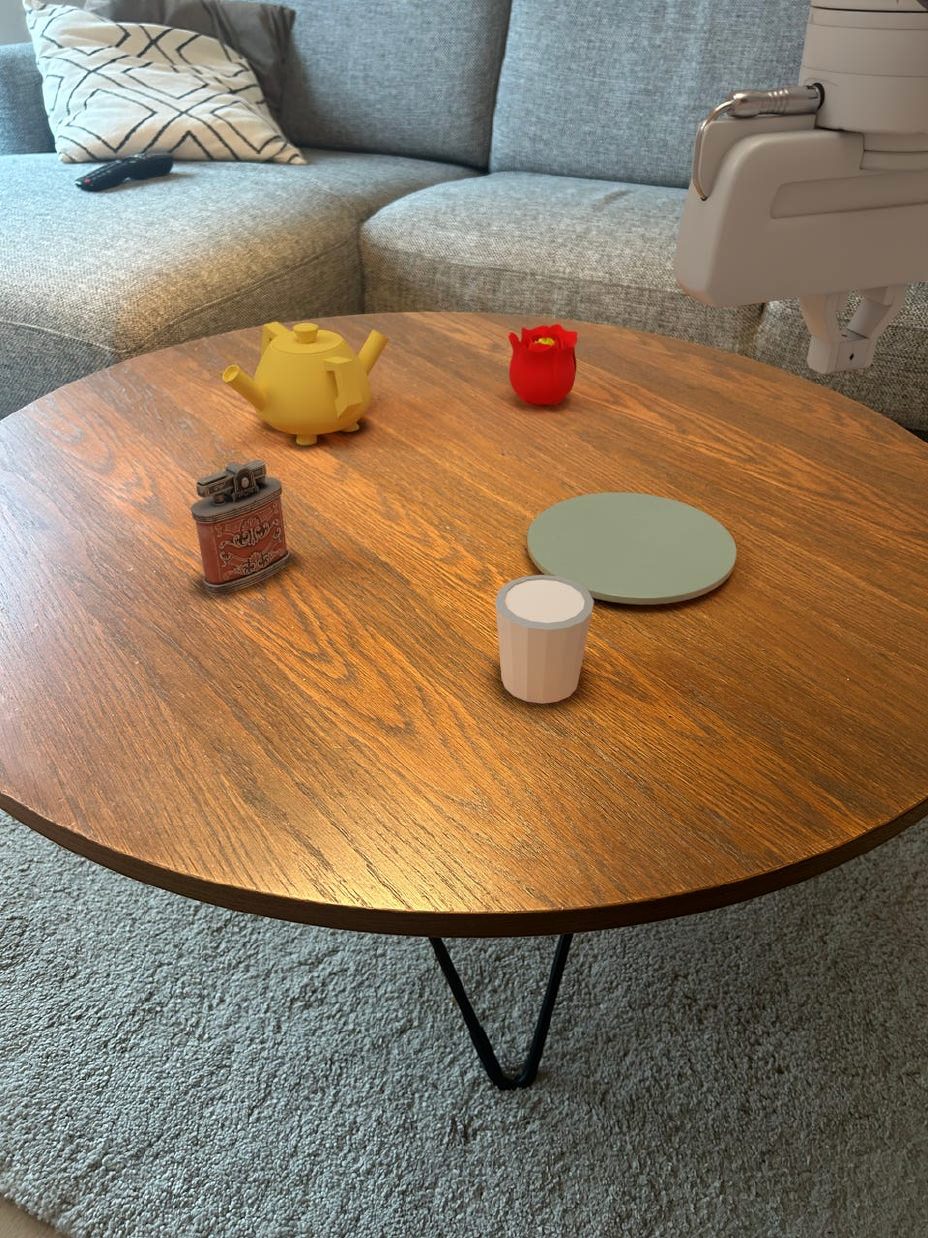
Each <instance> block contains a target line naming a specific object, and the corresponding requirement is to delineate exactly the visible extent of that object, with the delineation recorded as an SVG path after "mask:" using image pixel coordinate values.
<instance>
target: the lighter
mask: <svg viewBox="0 0 928 1238" xmlns="http://www.w3.org/2000/svg"><path fill="white" fill-rule="evenodd" d="M266 475H267V467H266V462H265V461H264V460H262V459H255V460H252V461H249V462H245V463H243V464H241V463H239V462H237V461H232V462H229V463H228V464H226V467H225V469H224V471H217V472H215V473H212V474H209V475H207V476H204V477H201V478H199V479H197V481H196V482H195V487H196V494H197V496H198V497H200V498H202V499H200V500H198V501H196V502H194V503H193V504H192V505H191V507H190V511H191V516H192V520H194V522H195V526H196V532H197V538H198V544H199V549H200V554H201V555H200V556H201V561H202V567H203V573H204V575H203V578H202V579H203V585H204V590H205V591H206V592H207V593H209V594H211V595H215V596H222V595H227V594H230V593H233V592H236V591H239V590H243V589H245V588H247V587H250V586H252V585H255V584H258V583H259V582H262V581H264V580H266V579H268V578H270V577H272V576H273V575H275V574H277V573H278V572H280V571H282V570H283V569H285V568H286V567H288V566H289V565H290V563H291V557H290V551H289V549H288V548H287V540H286V532H285V523H284V516H283V505H282V497H281V496H282V494H283V486H282V482H281V480H280V479H277V478H275V477H267V476H266Z"/></svg>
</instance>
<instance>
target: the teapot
mask: <svg viewBox="0 0 928 1238" xmlns="http://www.w3.org/2000/svg"><path fill="white" fill-rule="evenodd" d="M292 329H293V330H290V329H288V328H286V327H285V326H284V325H282V324H281V323H280V322H279V321H277V320H276V321H272V322H269V323H265V324H263V325H262V336H261V348H260V361H259V362H258V365H257V366H256V367H257V368H256V371H255V373H254V376H253V379H252V378H251V377H250V376H249V375H248V374H247V373H246V372H245V371H244V370H242V368H240V367H239V366H238V365H237V364H232V365H229V366H228V367H227V368H226V369H225V370H224V371H223V373H222V376H221V379H222V381H223V382H224V383H226V384H227V385H228V386H229V387H230V388H231V389H233V390H234V391H236V393H238V394H239V395H240V396H241V397H242V398H243V399H245V401H247V402H248V403H250V404H251V405H252V407H253V409H254V411H255V413H256V415H258V416H259V418H261V419H262V421H264V422H265V423H266V424H268V425H269V426H270V427H272V428H273V429H275V430H277V431H280V432H283V433H286V434H292V435H296V439H295V442H296V444H298V445H300V446H311V445H313V444H316V443H317V442H318V436H317V435H323V434H330V433H335V432H338V431H342V432H345V433H347V432H348V433H349V432H351V433H352V432H355V431H357V430H359V429H360V426H359V424H358V422H359V420H360V419H361V418H362V417H363V416H364V414H365V413H366V412H367V411H368V409H369V407H370V406H371V403H372V398H373V397H372V388H371V384H370V380H369V377H368V376H369V375H370V373H371V372H372V369H373V368H374V367H375V364H376V363H377V361H378V360H379V358H380V356H381V354H382V353H383V351H384V349H385V348H386V346H387V344H388V342H389V341H390V338H388V337H387V336H385V335H383V334H382V333H380V332H379V331H376V329H372V330H371V331H370V334H369V335H368V337H367V339H366V341H365V343H364V344H363V345H362V347H361V349H360V351H359V353H358V354H356V353H355V351H354V350H353V348H352V347H351V346H350V345H349V343H348V342H347V341H346V340H345V339H344V338H343V337H342V336H341V335H340V334H339V333H336V332H333V331H331V330H326V329H319V325H318V324H316V323H313V322H302V323H298V324H295V325H294V326H293V327H292Z"/></svg>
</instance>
